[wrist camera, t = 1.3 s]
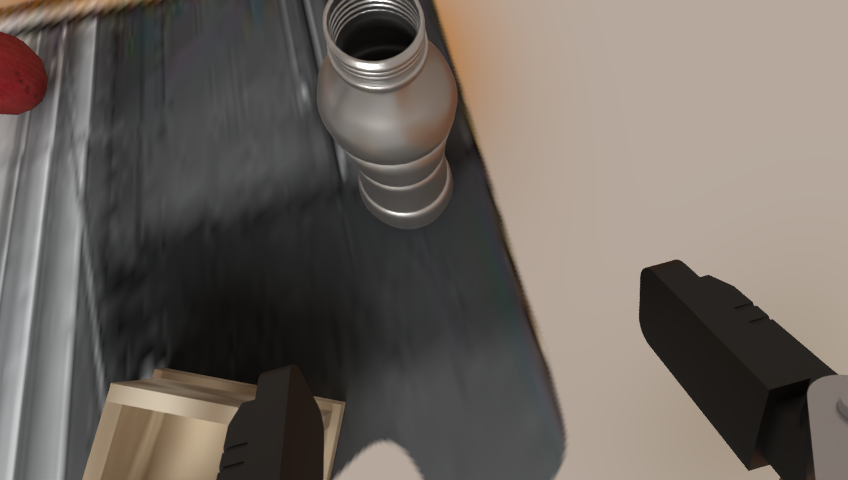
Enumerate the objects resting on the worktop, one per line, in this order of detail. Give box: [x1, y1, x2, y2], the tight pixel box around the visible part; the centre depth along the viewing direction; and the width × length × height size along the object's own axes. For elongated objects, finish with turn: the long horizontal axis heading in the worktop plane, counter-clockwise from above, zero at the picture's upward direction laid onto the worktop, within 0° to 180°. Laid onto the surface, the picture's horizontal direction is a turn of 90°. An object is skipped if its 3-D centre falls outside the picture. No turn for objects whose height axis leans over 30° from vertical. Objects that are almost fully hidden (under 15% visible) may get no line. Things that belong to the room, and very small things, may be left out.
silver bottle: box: [317, 0, 457, 229], centre depth 27 cm, size 6×7×20 cm
